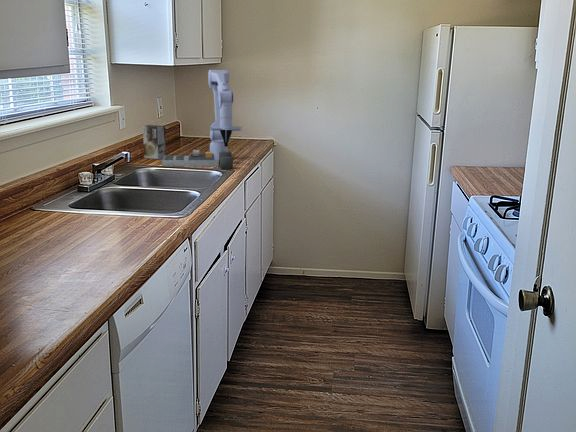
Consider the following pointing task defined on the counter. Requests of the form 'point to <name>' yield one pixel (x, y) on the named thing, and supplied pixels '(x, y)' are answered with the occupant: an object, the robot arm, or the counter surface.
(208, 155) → the toggle
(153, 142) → the coffee box
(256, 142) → the counter surface
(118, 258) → the counter surface
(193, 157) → the power strip
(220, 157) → the pair of grey cylinders
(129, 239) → the counter surface
